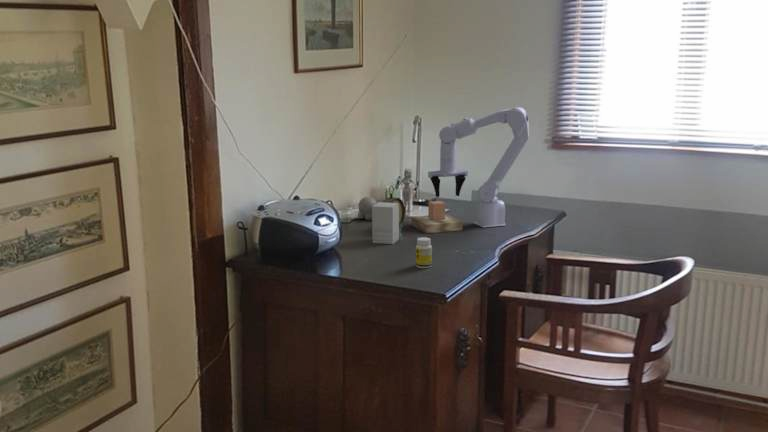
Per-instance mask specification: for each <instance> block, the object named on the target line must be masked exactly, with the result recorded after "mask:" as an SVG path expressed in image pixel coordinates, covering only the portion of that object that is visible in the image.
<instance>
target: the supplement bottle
mask: <svg viewBox="0 0 768 432" xmlns="http://www.w3.org/2000/svg"><path fill="white" fill-rule="evenodd" d="M431 240H432V239H431V238H429V237H424V236H423V237H417V239H416V245H415V266H416V268H419V269H428V268H429V267H430V268H431V267H432V266H433V264H432V263H433V259H432V257H433V256H432V255H433V254H432V253H433V247H432V246H433V245H431V242H432V241H431Z"/></svg>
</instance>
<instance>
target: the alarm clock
mask: <svg viewBox="0 0 768 432" xmlns="http://www.w3.org/2000/svg"><path fill="white" fill-rule="evenodd" d="M391 188H392V192H390V190H391ZM394 188H395V187H394V186H393V185H391V186H389V188H388V194H389V197H386V198H384V200H382V201H383V202H386V203H399V229H402V227H401V226H402V225H403V223H404V220H405V216H406V215H405V208H404V202H403V200H402V199H401V198H399V197H394V195H393V194H394V191H395V189H394Z"/></svg>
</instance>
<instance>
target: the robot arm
mask: <svg viewBox="0 0 768 432" xmlns="http://www.w3.org/2000/svg"><path fill="white" fill-rule="evenodd" d="M529 122H530V117H529V115H528V112H527V111H526V109H525V108H523V107H521V106H515V107H513V108H505V109H503V110H499V111H496V112H492V113H490V114H488V115H486V116H482V117H481V118H478V119H473V118H471V117H470V118H468V117H464V118H463V119H462V120H461V121H459V122H456V123H455V122H452V123H450V125H447V126H444V127H443V128H441V129H440V131H439V136H438V137H439V140H440V148H439V149H440V151H439V152H440V153H439V155H440V156H439V157H440V158H439V160H440V161H439V162H440V163H439V166H440V167H439V170H434V171H433V170H432V171H428V172H427V178H429V179H430V181H431V183H432V185H433V188H434V189H433V190H434V193H435V197H436V198H439V197H440V184H441V179H440V178H442V177H443V178H445V177H449V178H450V177H454V178H455V196H456V197H460V194H461V191H462V190H461V189H462V187H463V184H464V183H465V181H466V177H468V176H469V175H468V170H466V169H459V170H458V169H457V139H458V140H460V139H463V138H466V137H469V136H471V135H475V134H476V133H477V131H478V129H481V128H483V127H486V126H490V125H493V124H497V123H500V124H508V126H509V127H510V128H511V131H512V134H513V139H512V141H511V142H510V144H509V145H508V147H507V148H506V150H505V151H504V154H502V156H501V158H500V160H499V162H498V163H497V164H496V166H495V167H494V170H492V172H491V174H490V176H489V177H488V179H487V180H486V181H485V182H483V184H482V185H481V186H480V187H479V188H478V190H477V196H478V200H477V221H473V222H472V224H474V225H476V226H479V227H481V228H493V227H495V228H496V227H505V226H506V223H505V221H506V205H505V202H504V200H502V199H501V200H499V198H498V197H497V195H498V193H499V192H500V186H501V184H502V183H503V181H504V178H505V177H506V175H507V174H508V172H509V171H510V169H511V168H512V166H513V164H514V163H515V161H516V160H517V158H518V157H519V155H520V154H521V152H522V149H524V147H525V145H526V144H527V142H528V140H529V138H530V123H529Z"/></svg>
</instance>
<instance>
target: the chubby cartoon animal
mask: <svg viewBox="0 0 768 432" xmlns="http://www.w3.org/2000/svg"><path fill="white" fill-rule="evenodd" d="M383 201H384V200H381V201H380V202H383ZM376 203H378V202H377V200H376V199H375V198H374V197H371V196H364V197H362V198H361V199H360V201H359V203H358V206H357V207H358V213H357V219H360V220H363V219H365V220H366V221H372V206H373V205H375V204H376Z"/></svg>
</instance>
